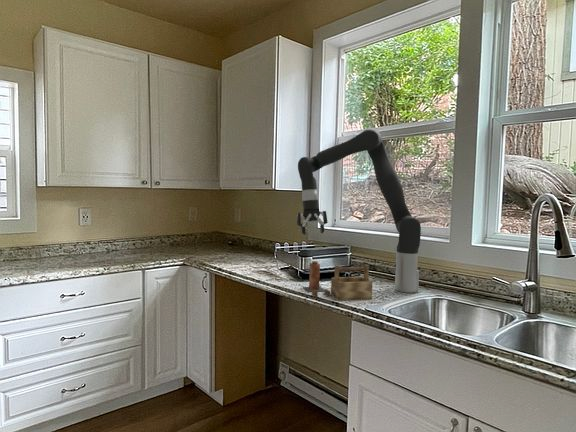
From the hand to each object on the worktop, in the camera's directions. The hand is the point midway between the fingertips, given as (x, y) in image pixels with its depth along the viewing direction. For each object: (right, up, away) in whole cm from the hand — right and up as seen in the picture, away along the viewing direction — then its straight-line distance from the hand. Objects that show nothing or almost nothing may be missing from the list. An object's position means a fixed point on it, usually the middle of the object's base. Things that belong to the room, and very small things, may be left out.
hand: (313, 234), depth 187 cm
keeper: (+2, -25, -22) cm, 33 cm away
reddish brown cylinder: (0, -23, -13) cm, 27 cm away
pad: (-1, -24, -13) cm, 27 cm away
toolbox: (+14, -25, -23) cm, 36 cm away
